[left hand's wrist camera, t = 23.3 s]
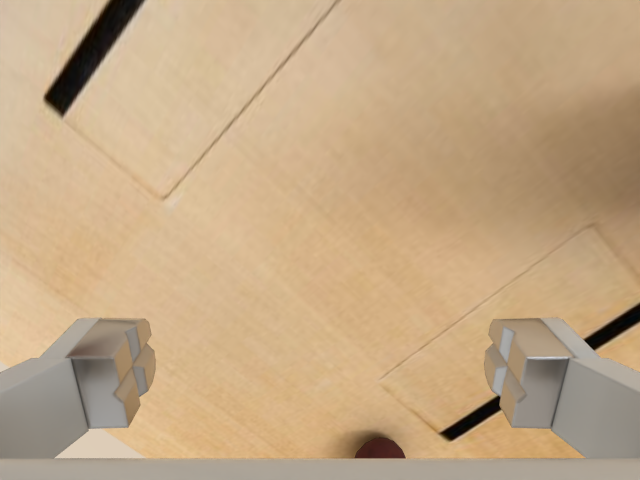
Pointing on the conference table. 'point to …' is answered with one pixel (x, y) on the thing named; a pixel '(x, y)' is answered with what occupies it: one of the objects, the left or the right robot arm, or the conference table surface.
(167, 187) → the conference table surface
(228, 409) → the conference table surface
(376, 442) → the potato
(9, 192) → the conference table surface
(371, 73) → the conference table surface
